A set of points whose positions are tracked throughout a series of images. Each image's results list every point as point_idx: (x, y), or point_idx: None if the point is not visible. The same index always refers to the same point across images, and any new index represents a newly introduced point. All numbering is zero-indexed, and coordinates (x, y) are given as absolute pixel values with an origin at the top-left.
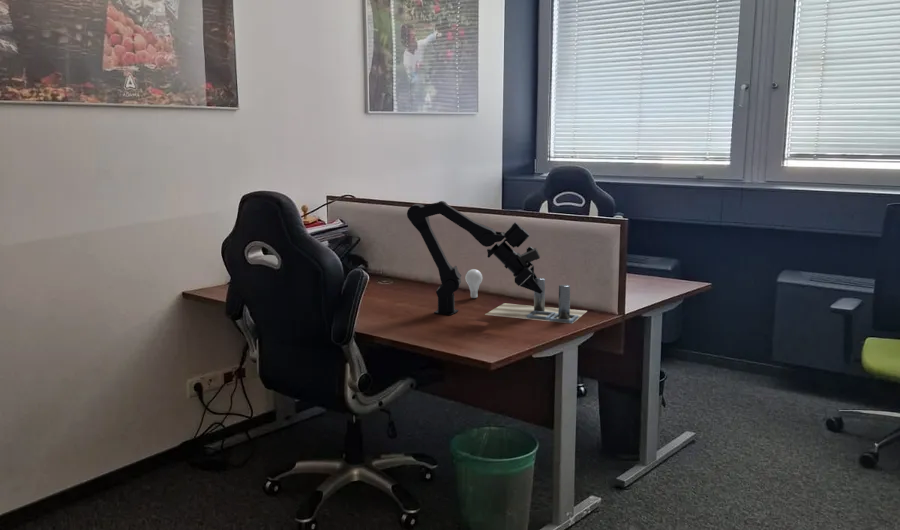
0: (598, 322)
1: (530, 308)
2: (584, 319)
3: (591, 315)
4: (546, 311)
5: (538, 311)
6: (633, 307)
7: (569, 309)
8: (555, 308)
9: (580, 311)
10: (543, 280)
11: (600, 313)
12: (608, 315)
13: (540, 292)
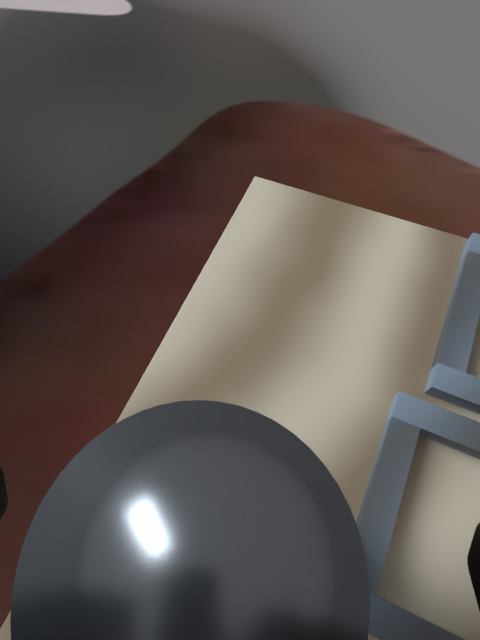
0: (454, 160)
1: None
2: None
3: (280, 176)
4: None
5: (377, 564)
6: (117, 11)
7: None
8: (163, 373)
9: (270, 215)
10: (312, 460)
11: (231, 133)
12: (278, 105)
13: None
